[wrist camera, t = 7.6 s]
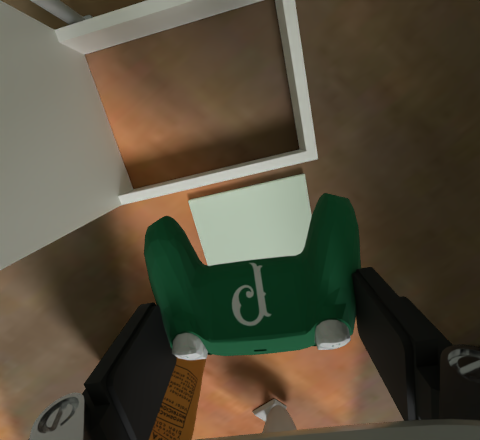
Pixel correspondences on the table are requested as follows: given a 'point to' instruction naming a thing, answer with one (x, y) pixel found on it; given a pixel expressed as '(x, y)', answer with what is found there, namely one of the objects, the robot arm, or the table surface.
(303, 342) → the gaming controller
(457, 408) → the robot arm
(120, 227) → the table surface
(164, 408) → the coffee package
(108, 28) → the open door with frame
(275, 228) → the mat
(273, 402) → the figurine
